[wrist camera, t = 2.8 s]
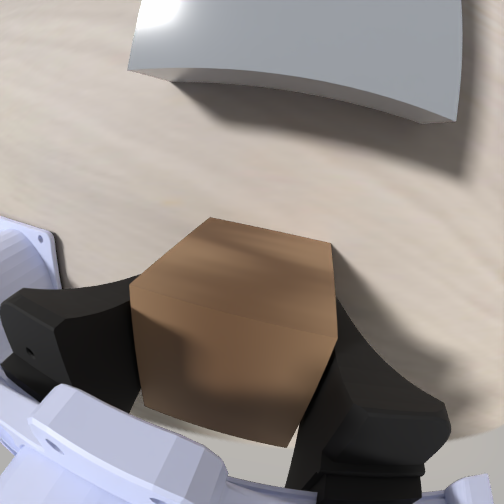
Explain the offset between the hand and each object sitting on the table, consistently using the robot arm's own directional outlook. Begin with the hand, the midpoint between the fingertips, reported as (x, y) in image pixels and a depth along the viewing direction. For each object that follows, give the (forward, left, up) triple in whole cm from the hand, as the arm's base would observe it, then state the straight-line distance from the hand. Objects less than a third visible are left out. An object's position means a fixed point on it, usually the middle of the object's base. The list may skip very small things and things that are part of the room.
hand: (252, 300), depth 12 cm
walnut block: (0, 0, -1) cm, 1 cm away
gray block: (0, +13, -2) cm, 13 cm away
